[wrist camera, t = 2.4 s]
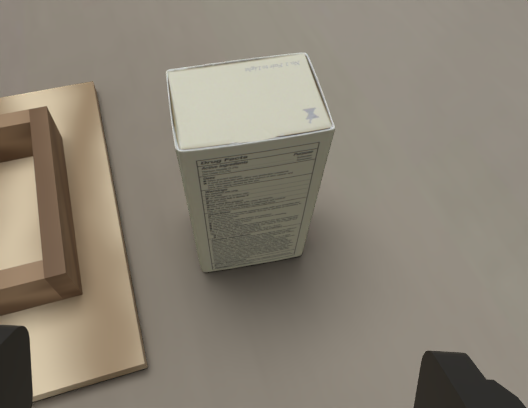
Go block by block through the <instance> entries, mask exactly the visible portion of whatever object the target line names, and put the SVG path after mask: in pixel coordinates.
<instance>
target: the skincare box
mask: <svg viewBox="0 0 528 408" xmlns="http://www.w3.org/2000/svg"><path fill="white" fill-rule="evenodd" d="M166 80H167V90H168V100H169V109H170V117H171V124H172V131H173V138H174V144H175V150H176V154H177V159H178V163H179V167H180V172H181V176H182V181H183V186H184V191H185V196H186V200H187V205H188V210H189V214H190V219H191V224H192V229H193V234H194V238H195V243H196V248H197V253H198V258H199V262H200V267H201V270H202V271H203V272H211V271H218V270H225V269H231V268H237V267H243V266H248V265H254V264H260V263H266V262H271V261H277V260H282V259H287V258H292V257H297V256H300V255H302V253H303V249H304V245H305V241H306V237H307V234H308V229H309V226H310V222H311V218H312V214H313V211H314V207H315V203H316V199H317V195H318V191H319V188H320V184H321V180H322V176H323V172H324V168H325V164H326V161H327V157H328V153H329V150H330V146H331V142H332V139H333V135H334V131H335V126H334V123H333V121H332V117H331V114H330V112H329V108H328V106H327V102H326V100H325V97H324V94H323V92H322V89H321V86H320V83H319V80H318V78H317V75H316V73H315V70H314V68H313V65H312V63H311V61H310V58H309V56H308V54H307V53H295V54H284V55H275V56H266V57H258V58H250V59H241V60H235V61H226V62H221V63H212V64H204V65H198V66H190V67H183V68H176V69H170V70H167V71H166Z"/></svg>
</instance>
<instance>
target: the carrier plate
mask: <svg viewBox="0 0 528 408" xmlns="http://www.w3.org/2000/svg"><path fill="white" fill-rule="evenodd" d="M0 325H17V326H25V327H26V328H27V330H28V332H29V337H30V353H31V370H32V387H33V400H32V402H34V401H38V400H41V399H44V398H48V397H51V396H54V395H58V394H61V393H64V392H68V391H71V390H74V389H78V388H81V387H85V386H88V385H91V384H95V383H98V382H101V381H105V380H108V379H111V378H115V377H118V376H121V375H125V374H128V373H131V372H135V371H138V370H142V369H145V368H148V366H147V361H146V355H145V350H144V345H143V339H142V334H141V329H140V323H139V318H138V312H137V307H136V302H135V296H134V291H133V285H132V280H131V275H130V269H129V264H128V259H127V253H126V248H125V242H124V237H123V232H122V226H121V221H120V215H119V210H118V205H117V199H116V194H115V189H114V183H113V178H112V172H111V167H110V162H109V156H108V151H107V145H106V140H105V135H104V129H103V124H102V119H101V113H100V108H99V102H98V97H97V92H96V89H95V86H94V83H93V81H92V82H86V83H80V84H75V85H69V86H64V87H58V88H52V89H47V90H41V91H36V92H30V93H24V94H19V95H13V96H8V97H2V98H0Z"/></svg>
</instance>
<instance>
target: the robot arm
mask: <svg viewBox="0 0 528 408" xmlns="http://www.w3.org/2000/svg"><path fill="white" fill-rule="evenodd" d="M32 400H33V387H32V370H31V353H30V337H29V332H28V330H27V328H26V327H25V326H17V325H0V408H31V406H32ZM414 408H526V407H525V406H524V404H523V403H522V402H521V401H520V400H519V398H518V397H517V396H515V395H514V394H512V393H511V392H510V391H508V390H507V389H505V388H504V387H503V386H501V385H500V384H499V383H497V382H496V381H494V380H486V379H485V377H484V376H483V375H482V373H481V372H480V371H479V369H478V368H477V367H476V365H475V364H474V363H473V361H472V360H471V359H470V357H469V356H468V355H467V354H466V353H459V352H442V351H426V352H425V353H424V355H423V358H422V361H421V367H420V373H419V379H418V385H417V391H416V397H415V403H414Z"/></svg>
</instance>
